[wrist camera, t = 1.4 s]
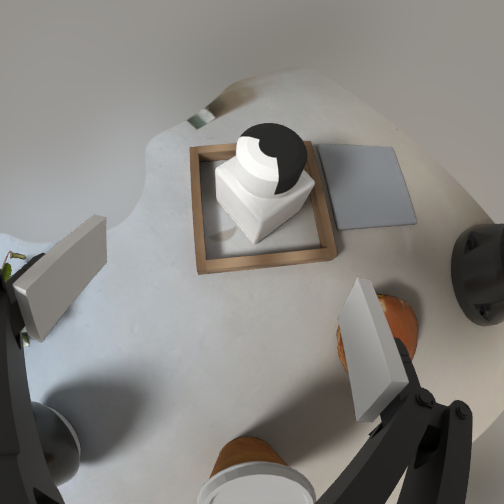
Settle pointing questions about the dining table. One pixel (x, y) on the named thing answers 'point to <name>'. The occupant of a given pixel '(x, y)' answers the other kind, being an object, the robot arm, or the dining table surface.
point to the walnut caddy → (265, 260)
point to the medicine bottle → (264, 179)
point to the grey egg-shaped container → (57, 443)
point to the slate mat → (365, 186)
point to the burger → (392, 325)
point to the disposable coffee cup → (254, 477)
